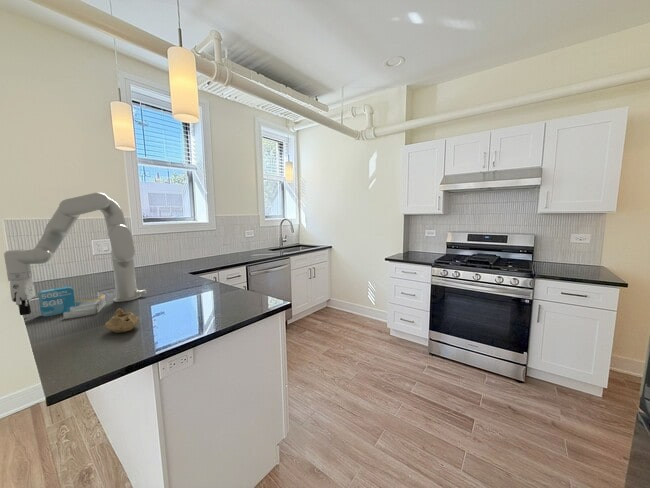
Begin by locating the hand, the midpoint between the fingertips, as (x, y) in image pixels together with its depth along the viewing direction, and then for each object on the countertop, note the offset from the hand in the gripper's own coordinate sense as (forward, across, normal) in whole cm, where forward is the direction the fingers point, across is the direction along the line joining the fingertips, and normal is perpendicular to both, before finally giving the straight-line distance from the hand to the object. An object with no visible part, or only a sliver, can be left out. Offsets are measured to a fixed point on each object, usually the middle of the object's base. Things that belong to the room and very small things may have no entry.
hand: (25, 314), depth 127 cm
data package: (+2, 0, -12) cm, 12 cm away
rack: (+2, -4, -23) cm, 23 cm away
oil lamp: (+2, -46, -44) cm, 64 cm away
